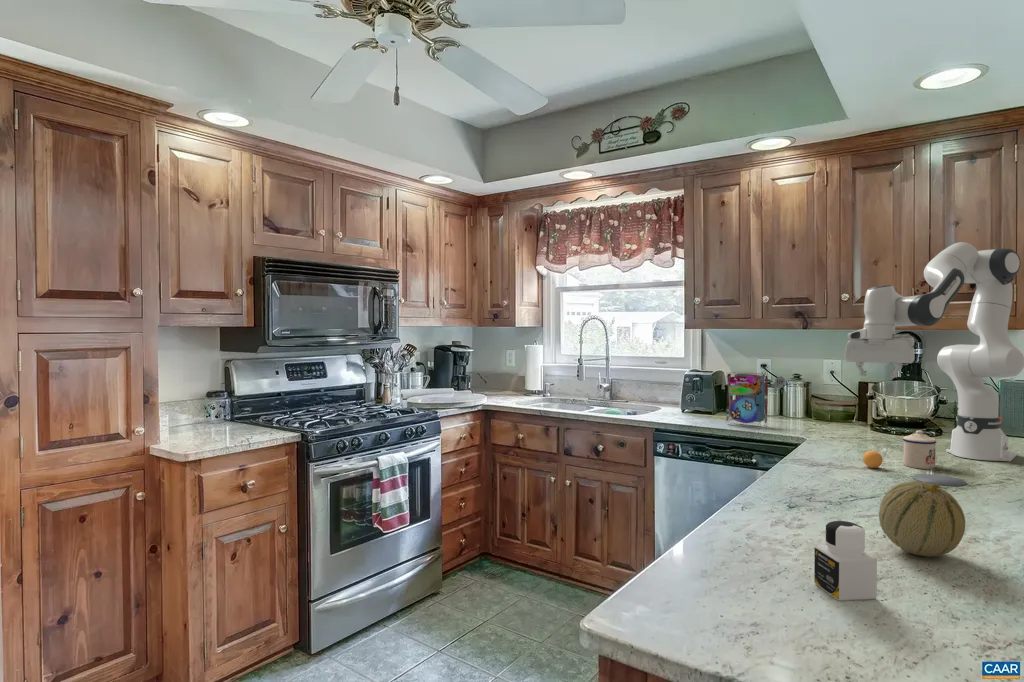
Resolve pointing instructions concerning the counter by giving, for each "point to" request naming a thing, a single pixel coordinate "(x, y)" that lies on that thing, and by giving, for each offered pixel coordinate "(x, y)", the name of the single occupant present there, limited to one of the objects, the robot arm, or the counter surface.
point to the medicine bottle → (845, 563)
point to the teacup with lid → (919, 451)
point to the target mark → (939, 480)
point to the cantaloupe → (922, 518)
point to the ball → (872, 459)
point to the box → (749, 397)
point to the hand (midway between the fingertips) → (878, 376)
